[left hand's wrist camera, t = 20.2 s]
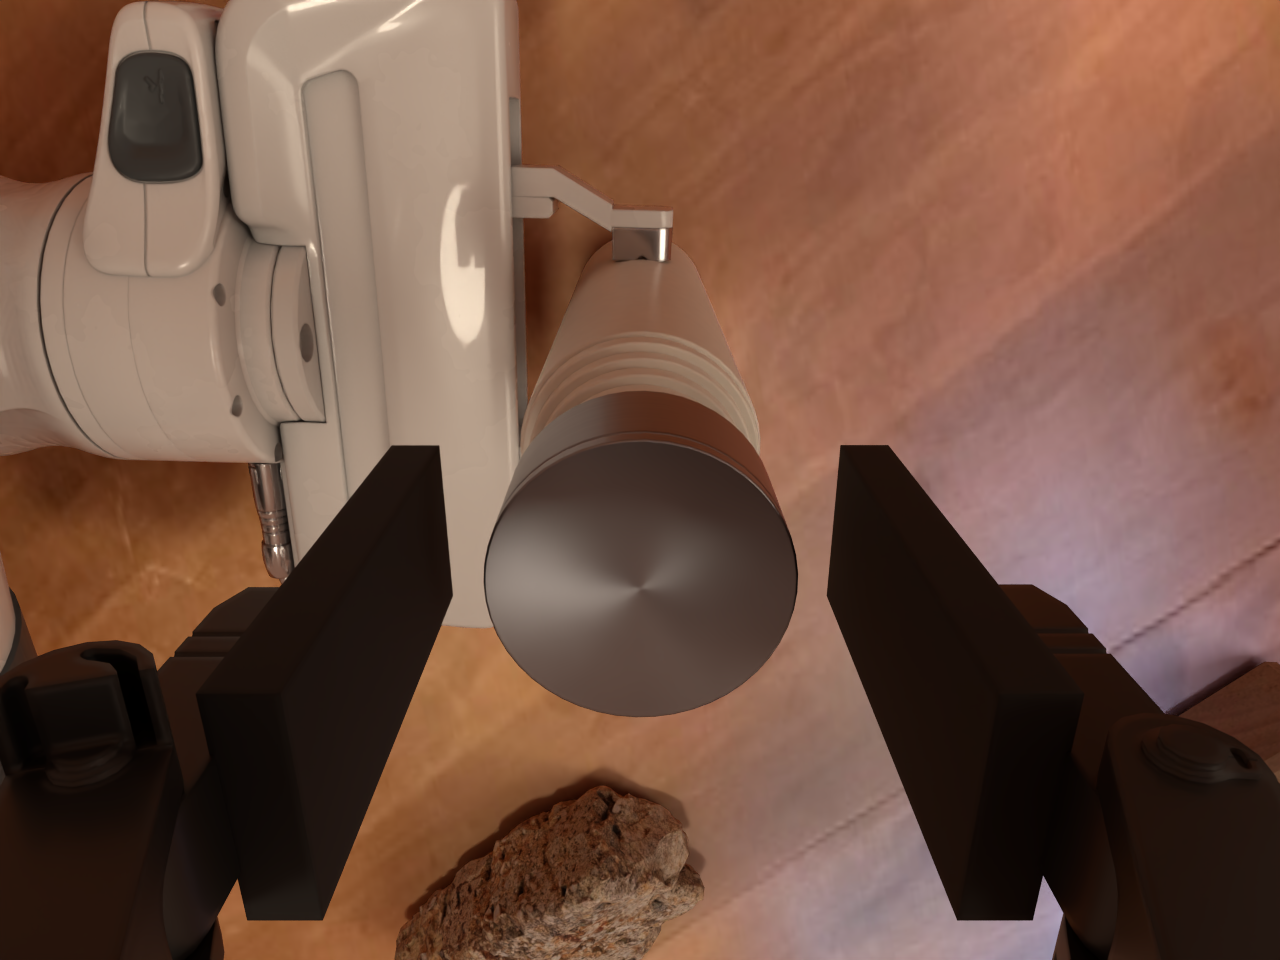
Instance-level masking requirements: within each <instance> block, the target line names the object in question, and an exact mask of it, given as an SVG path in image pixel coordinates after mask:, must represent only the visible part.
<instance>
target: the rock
mask: <svg viewBox="0 0 1280 960" xmlns="http://www.w3.org/2000/svg"><path fill="white" fill-rule="evenodd" d="M688 841H689V839H688V837H687V835H686V833H685V832H684V831H683V830H682V823H681V822H680V821H679V820H677V819H675V818H674V817H673V816H672V814H671V813H670V812H669V810H667V809H666V808H664V807H663V806H661V805H659V804H656V803H654V802H651V801H649V800H646V799H642V798H637V797H634V796H632V795H630V794H629V793H628V794H627V795H625V796H622V795H620V794H618V793H616V792H615V791H613V790H612V789H611V788H610V787H607V786H603V785H602V786H597V787H595V788H592V789H590V790H588V791H587V792H586V793H585V794H584V795H583V796H581V797H580V798H579V799H578V800H569V801H566V802H559V803H557V804H555V805H554V806H553V808H552V809H551V810H550V811H549V812H547V813H546V812H542V813H541V814H538V815H535V816H533V817H531V818H529V819H527V820H525V821H524V822H522V823H520V824H519V825H518V826H516V827H515V828H514V829H513V830H511V832H510V833H509V834H508V835H506V836H505V837H504V838H503V839H502V840H496V843H495V847H494V850H493V851H492V852H490V853H489V854H488V855H486V856H485V857H482V858H478V859H475V860H472V861H470V862H469V863H467V864H466V865H464V866H463V867H462V868H461V869H460V870H459V871H458V872H457V873H456V876H455V878H454V880H453V881H452V883H451V884H450V885H448V886H447V887H446V888H445V889H440V890H436V891H435V892H434V893H433V894H432V895H431V896H430V898H429V899H428V901H427V902H426V903H424V904H423V905H422V906H420V911H419V912H418V913H416V914H414V915H413V919H412V920H410V921H409V922H407V923H406V924H405V925H404V926H403V927H402V928H401V929H400V932H399V935H398V938H397V940H396V944H397V947H396V953H395V960H640V959H642V958H643V956H644V955H645V954H646V953H647V952H648V951H649V950H650V948H651V947H652V945H653V943H654V941H655V940H656V938H657V936H658V935H659V933H660V931H661V925H662V924H663V923H664V922H665V921H668V920H671V919H674V918H676V917H678V916H680V915H682V914H684V913H686V912H687V911H689V910H691V909H692V908H693V907H694V906H695V905H696V904H697V902H699V901H701V900H703V896H704V885H703V883H702V881H701V878H700V876H699V874H698V873H697V872H696V871H695V870H694V869H693V868H692V867H691V866H690V865H688V864H686V863H685V862H686V860H687V857H688V855H689V849H688Z"/></svg>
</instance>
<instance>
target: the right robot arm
mask: <svg viewBox="0 0 1280 960" xmlns="http://www.w3.org/2000/svg"><path fill="white" fill-rule="evenodd" d="M559 201H561V202H562V203H564V204H566V205H567V206H569V207H571V208H572V209H574V210H576V211H577V212H579V213H580V214H582V215H584V216H585V217H587V218H589V219H590V220H592V221H594V222H595V223H597V224H599V225H600V226H602V227H603V228H605V229H607V230H608V231H610V232H611V231H612V260H626V261H629V260H636V259H638V258H639V257H641V256H643V257H645V258H646V259H647V260H651V261H669V260H671V247H672V229H673V227H672V225H673V208H672V207H666V206H650V205H614V200H613V199H611V198H609V197H608V196H606V195H605V194H603V193H602V192H600V191H598V190H597V189H595V188H594V187H592V186H591V185H589V184H587V183H586V182H584V181H583V180H581V179H580V178H578V177H576V176H575V175H573V174H572V173H570V172H568V171H567V170H565V169H564V168H562V167H561V166H559V165H522V133H521V92H520V51H519V13H518V4H517V1H516V0H229V1H228V2H227V4H226V6H225V8H224V9H223V8H218V7H214V6H210V5H206V4H200V3H192V2H183V1H159V0H158V1H140V2H133V3H130V4H127V5H125V6H124V7H123V8H122V9H121V10H120V11H119V12H118V14H117V16H116V18H115V20H114V23H113V27H112V31H111V36H110V43H109V52H108V62H107V72H106V82H105V91H104V100H103V109H102V117H101V125H100V133H99V139H98V146H97V153H96V159H95V165H94V171H93V172H88V173H82V174H77V175H74V176H71V177H67V178H64V179H61V180H58V181H53V182H47V183H26V182H21V181H17V180H13V179H10V178H7V177H4V176H1V175H0V456H6V455H13V454H17V453H22V452H26V451H30V450H33V449H37V448H41V447H46V446H66V447H73V448H77V449H79V450H82V451H85V452H88V453H91V454H95V455H99V456H103V457H107V458H112V459H122V460H158V461H200V462H237V463H248V465H249V473H250V478H251V484H252V490H253V497H254V501H255V506H256V509H257V513H258V515H259V519H260V523H261V528H262V535H263V540H262V556H263V560H264V564H265V567H266V570H267V572H268V574H269V576H270V577H272V578H276V579H279V580H280V582H281V584H283V582H284V581H285V580H286V578H287V577H288V576H289V575H290V573H291V572H292V571H293V570H294V568H295V567H296V566H297V565H298V563H299V562H300V561H301V559H302V558H303V557H304V556H305V554H306V553H307V552H308V551H309V549H310V548H311V547H312V546H313V544H314V543H315V542H316V540H317V539H318V538H319V537H320V535H321V534H322V533H323V532H324V530H325V529H326V528H327V527H328V525H329V524H330V523H331V521H332V520H333V519H334V518H335V516H336V515H337V514H338V513H339V511H340V510H341V509H342V508H343V506H344V505H345V504H346V503H347V501H348V500H349V499H350V497H351V496H352V495H353V494H354V492H355V491H356V490H357V489H358V487H359V486H360V485H361V484H362V482H363V481H364V480H365V478H366V477H367V476H368V475H369V473H370V472H371V471H372V470H373V468H374V467H375V466H376V465H377V463H378V462H379V461H380V459H381V458H382V457H383V456H384V454H385V453H386V452H387V451H388V449H389V448H390V447H391V446H392V445H439V447H440V457H441V468H442V479H443V490H444V501H445V512H446V523H447V534H448V545H449V556H450V567H451V578H452V588H453V597H452V600H451V602H450V605H449V607H448V610H447V612H446V615H445V617H444V620H443V622H442V625H443V626H453V627H465V628H491V627H494V626H493V624H492V621H491V619H490V616H489V612H488V608H487V604H486V601H485V592H484V583H483V580H484V562H485V557H486V551H487V546H488V543H489V540H490V537H491V534H492V531H493V529H494V526H495V523H496V521H497V518H498V515H499V512H500V510H501V507H502V504H503V501H504V499H505V496H506V493H507V491H508V488H509V485H510V482H511V480H512V477H513V474H514V471H515V469H516V467H517V465H518V463H519V461H520V459H521V446H520V444H521V429H522V424H523V419H524V415H525V412H526V409H527V406H528V381H527V339H526V298H525V257H524V218H550V217H551V216H552V215H553V214H554V213H555V212H556V211H557V210H558V209H559ZM35 657H38V656H37V653H36V650H35V648H34V645H33V642H32V639H31V637H30V634H29V631H28V628H27V626H26V623H25V620H24V617H23V614H22V612H21V609H20V606H19V604H18V601H17V599H16V596H15V594H14V593H13V591H12V590H11V589H10V587H9V586H8V582H7V578H6V574H5V570H4V566H3V562H2V557H1V553H0V676H1V675H3V674H5V673H6V672H8V671H9V670H11V669H13V668H14V667H16V666H18V665H19V664H21V663H23V662H25V661H28V660H30V659H33V658H35ZM4 778H5V773H4V770H3V767H2V764H1V761H0V786H1V784H2V782H3V780H4Z"/></svg>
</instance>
